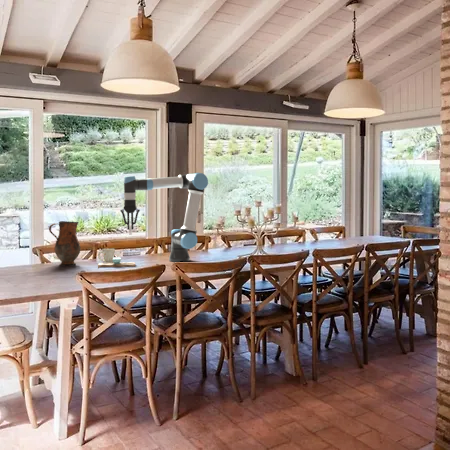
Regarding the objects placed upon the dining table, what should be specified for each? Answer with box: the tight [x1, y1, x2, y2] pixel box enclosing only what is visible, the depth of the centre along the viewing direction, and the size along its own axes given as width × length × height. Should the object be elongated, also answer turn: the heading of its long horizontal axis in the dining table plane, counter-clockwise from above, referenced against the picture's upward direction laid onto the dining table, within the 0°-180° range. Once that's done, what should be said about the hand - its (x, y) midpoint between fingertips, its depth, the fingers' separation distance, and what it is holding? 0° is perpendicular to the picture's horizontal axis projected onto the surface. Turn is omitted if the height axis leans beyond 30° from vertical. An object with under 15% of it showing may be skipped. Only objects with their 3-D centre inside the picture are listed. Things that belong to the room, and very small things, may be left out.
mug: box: [97, 248, 116, 263], centre depth 355 cm, size 8×13×10 cm, turn 78°
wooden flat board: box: [97, 262, 136, 269], centre depth 338 cm, size 24×9×3 cm, turn 98°
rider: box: [112, 257, 122, 264], centre depth 338 cm, size 5×6×5 cm
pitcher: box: [48, 220, 81, 267], centre depth 345 cm, size 17×21×30 cm
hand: (130, 234), depth 338 cm, fingers closed
